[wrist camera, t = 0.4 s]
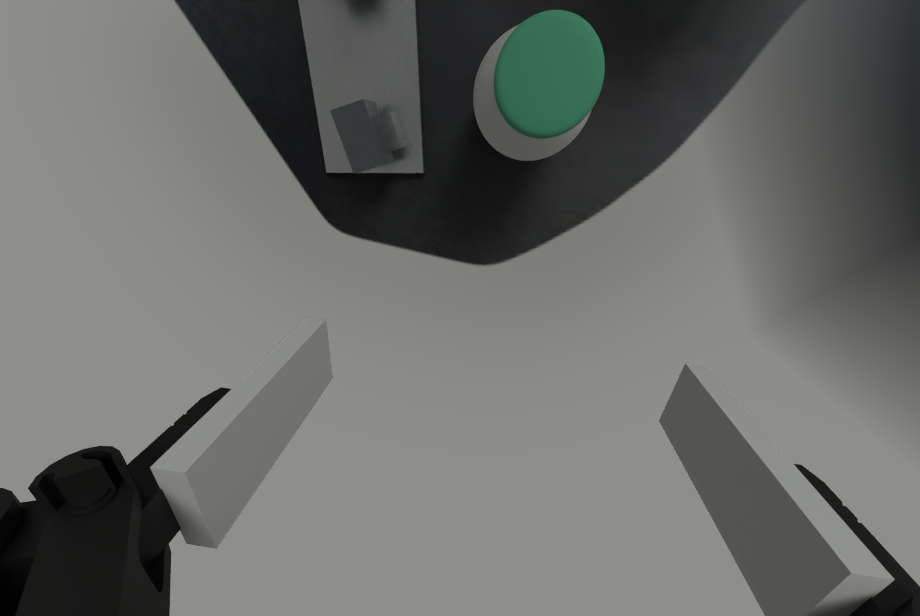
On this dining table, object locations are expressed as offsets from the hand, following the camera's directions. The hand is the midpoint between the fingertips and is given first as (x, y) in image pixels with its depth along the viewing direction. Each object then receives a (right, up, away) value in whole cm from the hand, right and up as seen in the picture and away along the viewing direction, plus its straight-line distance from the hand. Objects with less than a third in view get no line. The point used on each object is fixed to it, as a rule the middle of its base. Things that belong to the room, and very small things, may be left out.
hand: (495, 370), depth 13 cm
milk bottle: (+4, +21, +19) cm, 29 cm away
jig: (-10, +25, +19) cm, 33 cm away
